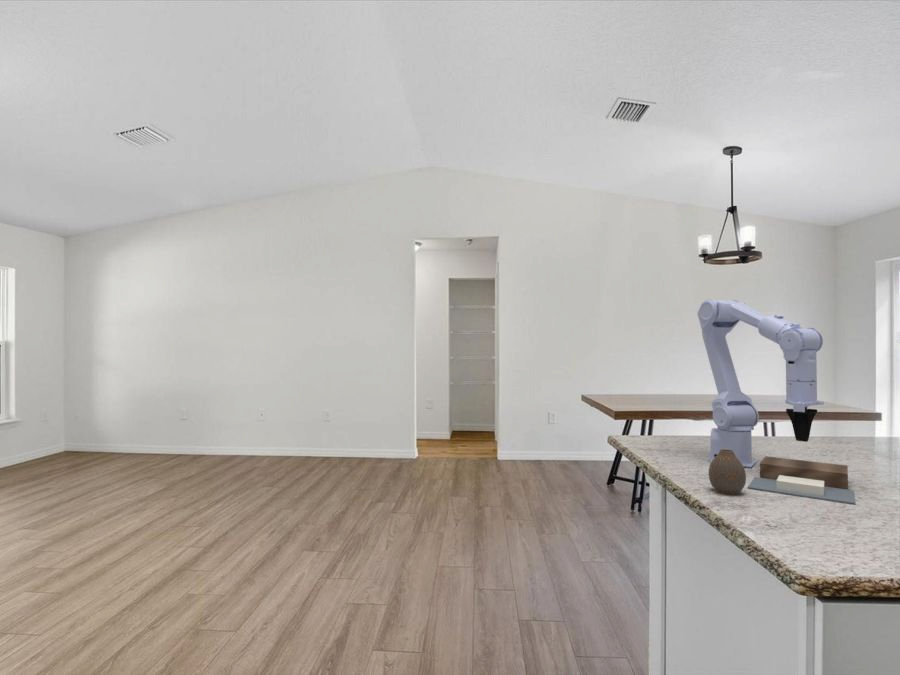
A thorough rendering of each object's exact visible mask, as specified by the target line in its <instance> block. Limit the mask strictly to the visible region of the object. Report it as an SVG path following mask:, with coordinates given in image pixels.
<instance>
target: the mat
mask: <svg viewBox="0 0 900 675" xmlns="http://www.w3.org/2000/svg"><path fill="white" fill-rule="evenodd" d="M824 488H825V490H824V496H820V495H813V494H807V493H800V492H793V491H786V490H779V489H777V480H774V479H766V478H760V476H759V477H757V476H754V477H753V479H752V480H751V482H750V483H749V484H748V486H747V489H749V490H755V491H762V492H771V493H774V494H780V495H781V494H783V495H788V496H795V497H802V498H807V499H813V500H815V499H816V500H822V501H827V502H828V501H829V502H833V503H834V502H835V503H840V504H841V503H842V504H847V505H853V506H854V505H855V506H856V497H855V494H856V493H855V490H853V489H848V490H847V489H839V488H832V487H825V486H824Z"/></svg>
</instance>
